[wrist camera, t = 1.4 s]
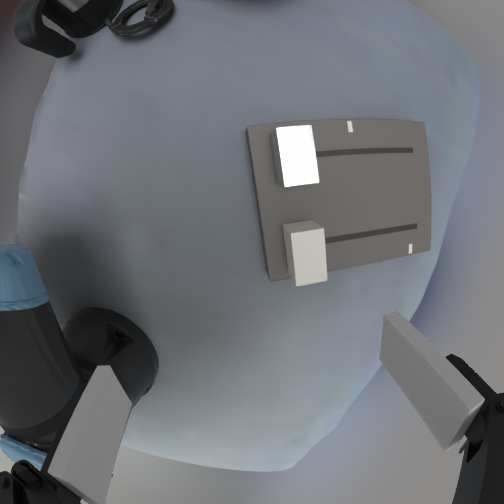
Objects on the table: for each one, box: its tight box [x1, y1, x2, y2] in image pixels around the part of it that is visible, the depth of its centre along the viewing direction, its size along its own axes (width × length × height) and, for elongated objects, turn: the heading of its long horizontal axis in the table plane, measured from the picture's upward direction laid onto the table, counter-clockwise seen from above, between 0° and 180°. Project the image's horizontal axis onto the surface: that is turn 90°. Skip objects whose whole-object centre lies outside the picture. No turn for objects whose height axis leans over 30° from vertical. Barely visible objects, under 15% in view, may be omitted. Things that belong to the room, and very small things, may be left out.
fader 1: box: [270, 125, 319, 187], centre depth 24 cm, size 3×5×4 cm, turn 9°
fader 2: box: [283, 220, 327, 287], centre depth 26 cm, size 3×5×4 cm, turn 9°
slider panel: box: [246, 119, 431, 282], centre depth 29 cm, size 21×16×3 cm
